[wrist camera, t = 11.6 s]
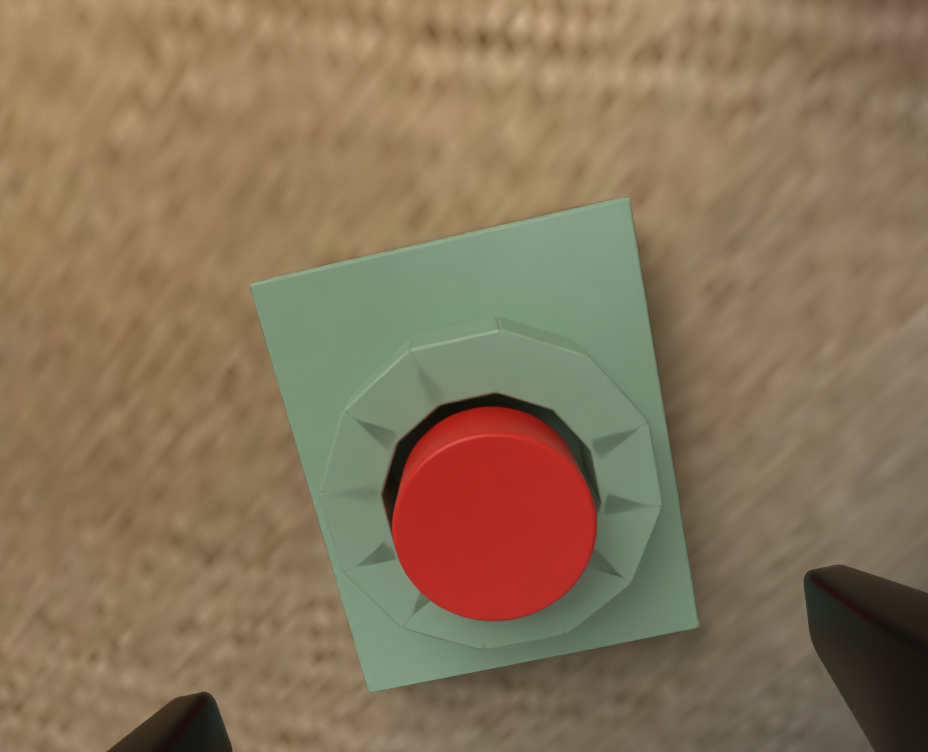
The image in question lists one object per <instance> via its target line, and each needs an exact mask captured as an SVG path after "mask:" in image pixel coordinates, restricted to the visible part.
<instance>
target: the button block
mask: <svg viewBox="0 0 928 752" xmlns="http://www.w3.org/2000/svg"><path fill="white" fill-rule="evenodd" d="M250 290H251V293H252V297H253V300H254V304H255V307H256V310H257V314H258V317H259V321H260V324H261V327H262V331H263V334H264V338H265V341H266V344H267V348H268V351H269V355H270V358H271V361H272V365H273V368H274V372H275V375H276V378H277V382H278V385H279V389H280V392H281V395H282V399H283V402H284V406H285V409H286V412H287V416H288V419H289V423H290V426H291V429H292V433H293V436H294V440H295V443H296V446H297V450H298V453H299V457H300V460H301V463H302V467H303V470H304V474H305V477H306V480H307V484H308V487H309V490H310V494H311V497H312V501H313V504H314V507H315V511H316V514H317V518H318V521H319V524H320V528H321V531H322V535H323V538H324V541H325V545H326V548H327V552H328V555H329V558H330V562H331V565H332V569H333V572H334V575H335V579H336V582H337V586H338V589H339V592H340V596H341V599H342V603H343V606H344V609H345V613H346V616H347V620H348V623H349V626H350V630H351V633H352V637H353V640H354V643H355V647H356V650H357V654H358V657H359V660H360V664H361V667H362V671H363V674H364V677H365V681H366V684H367V687H368V691H369V692H370V693H372V692H377V691H382V690H388V689H393V688H398V687H403V686H408V685H413V684H418V683H423V682H428V681H433V680H438V679H443V678H448V677H453V676H458V675H464V674H469V673H474V672H479V671H484V670H489V669H494V668H499V667H504V666H509V665H514V664H519V663H524V662H529V661H534V660H539V659H545V658H550V657H555V656H560V655H565V654H570V653H575V652H580V651H585V650H590V649H595V648H600V647H605V646H610V645H615V644H620V643H626V642H631V641H636V640H641V639H646V638H651V637H656V636H661V635H666V634H671V633H676V632H681V631H686V630H691V629H696V628H699V619H698V613H697V607H696V601H695V595H694V589H693V583H692V576H691V570H690V564H689V558H688V552H687V546H686V540H685V534H684V527H683V521H682V515H681V509H680V503H679V497H678V491H677V484H676V478H675V472H674V466H673V460H672V454H671V448H670V442H669V435H668V429H667V423H666V417H665V411H664V405H663V399H662V392H661V386H660V380H659V374H658V368H657V362H656V356H655V350H654V343H653V337H652V331H651V325H650V319H649V313H648V307H647V300H646V294H645V288H644V282H643V276H642V270H641V264H640V258H639V251H638V245H637V239H636V233H635V227H634V221H633V215H632V208H631V202H630V199H629V198H627V197H625V198H619V199H612V200H607V201H602V202H598V203H593V204H589V205H585V206H580V207H576V208H572V209H567V210H563V211H559V212H554V213H550V214H545V215H541V216H537V217H532V218H528V219H524V220H519V221H515V222H511V223H506V224H502V225H497V226H493V227H489V228H484V229H480V230H476V231H471V232H467V233H462V234H458V235H454V236H449V237H445V238H441V239H436V240H432V241H428V242H423V243H419V244H414V245H410V246H406V247H401V248H397V249H393V250H388V251H384V252H380V253H375V254H371V255H366V256H362V257H358V258H353V259H349V260H345V261H340V262H336V263H331V264H327V265H323V266H318V267H314V268H310V269H305V270H301V271H297V272H292V273H288V274H283V275H279V276H275V277H271V278H267V279H264V280H261V281H257V282H254V283H251V284H250ZM493 406H496V407H506V408H511V409H516V410H520V411H522V412H525V413H528V414H530V415H532V416H534V417H536V418H538V419H540V420H542V421H543V422H545V423H546V424H547V425H549V426H550V427H552V428H553V429H554V430H555V431H556V432H557V433H558V434H559V435H560V436H561V437H562V439H563V440H564V441H565V442H566V444H567V445H568V447H569V448H570V450H571V452H572V453H573V455H574V457H575V459H576V462H577V464H578V466H579V468H580V470H581V472H582V474H583V476H584V478H585V480H586V483H587V485H588V487H589V489H590V492H591V494H592V497H593V500H594V504H595V508H596V516H597V535H596V541H595V546H594V549H593V552H592V556H591V558H590V560H589V562H588V565H587V567H586V569H585V570H584V572H583V573H582V575H581V577H580V578H579V580H578V581H577V582H576V583H575V584H574V586H573V587H572V588H571V589H570V590H569V591H568V592H567V593H566V594H565V595H564V596H563V597H561V598H560V599H559V600H557V601H556V602H555V603H553V604H552V605H550V606H548V607H546V608H545V609H543V610H541V611H539V612H536V613H534V614H531V615H529V616H525V617H522V618H518V619H513V620H506V621H482V620H474V619H470V618H465V617H462V616H459V615H456V614H453V613H451V612H449V611H447V610H445V609H443V608H441V607H439V606H438V605H436V604H435V603H433V602H432V601H430V600H429V599H428V598H427V597H425V596H424V595H423V594H422V593H421V592H420V591H419V590H418V589H417V588H416V587H415V586H414V584H413V583H412V582H411V581H410V579H409V578H408V576H407V575H406V573H405V572H404V570H403V568H402V566H401V564H400V562H399V560H398V557H397V554H396V551H395V547H394V541H393V533H392V521H393V512H394V507H395V503H396V499H397V495H398V490H399V486H400V482H401V478H402V474H403V469H404V466H405V464H406V461H407V459H408V457H409V455H410V453H411V451H412V449H413V448H414V446H415V445H416V444H417V442H418V441H419V440H420V438H421V437H422V436H423V435H424V434H425V433H426V432H427V431H428V430H429V429H431V428H432V427H433V426H435V425H436V424H437V423H438V422H440V421H442V420H444V419H445V418H447V417H449V416H451V415H453V414H456V413H458V412H461V411H464V410H468V409H472V408H478V407H493Z"/></svg>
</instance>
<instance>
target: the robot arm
mask: <svg viewBox="0 0 928 752" xmlns="http://www.w3.org/2000/svg"><path fill="white" fill-rule="evenodd" d="M804 590H805V598H806V607H807V615H808V624H809V631H810V636H811V640H812V643H813V646H814V648H815V650H816V652H817V654H818V656H819V658H820V659H821V661H822V663H823V664H824V666H825V668H826V669H827V671H828V673H829V675H830V676H831V678H832V680H833V681H834V683H835V685H836V686H837V688H838V690H839V691H840V693H841V695H842V697H843V698H844V700H845V702H846V703H847V705H848V707H849V708H850V710H851V712H852V713H853V715H854V717H855V719H856V720H857V722H858V724H859V725H860V727H861V729H862V730H863V732H864V734H865V735H866V737H867V739H868V741H869V742H870V744H871V746H872V747H873V749H874V751H875V752H928V593H926V592H923V591H920V590H917V589H914V588H911V587H908V586H905V585H902V584H899V583H896V582H893V581H890V580H887V579H884V578H881V577H878V576H875V575H872V574H869V573H866V572H863V571H860V570H857V569H854V568H851V567H847V566H844V565H832V566H828V567H823V568H818V569H813V570H810V571H808V572H807V573H806V575H805V577H804ZM107 752H233V751H232V746H231V743H230V740H229V737H228V734H227V731H226V728H225V726H224V723H223V720H222V717H221V714H220V712H219V709H218V706H217V703H216V701H215V699H214V697H213V696H212V695H211V694H209V693H207V692H201V693H196V694H191V695H186V696H180V697H177V698H175V699H173V700H172V701H170V702H169V703H168V704H167V705H165V706H164V707H163V708H161V709H160V710H159V711H158V712H156V713H155V714H154V715H153V716H151V717H150V718H149V719H147V720H146V721H145V722H144V723H142V724H141V725H140V726H139V727H137V728H136V729H135V730H133V731H132V732H131V733H130V734H128V735H127V736H126V737H125V738H123V739H122V740H121V741H119V742H118V743H117V744H116V745H114V746H113V747H112V748H111V749H109V750H108V751H107Z"/></svg>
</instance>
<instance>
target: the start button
mask: <svg viewBox="0 0 928 752" xmlns="http://www.w3.org/2000/svg"><path fill="white" fill-rule="evenodd" d="M392 533H393V541H394V547H395V551H396V554H397V557H398V560H399V562H400V564H401V566H402V568H403V570H404V572H405V573H406V575H407V576H408V578H409V579H410V581H411V582H412V583H413V584H414V586H415V587H416V588H417V589H418V590H419V591H420V592H421V593H422V594H423V595H424V596H425V597H427V598H428V599H429V600H430V601H432V602H433V603H435V604H436V605H438V606H439V607H441V608H443V609H445V610H447V611H449V612H451V613H453V614H456V615H459V616H462V617H465V618H470V619H474V620H482V621H506V620H513V619H518V618H522V617H525V616H529V615H531V614H534V613H536V612H539V611H541V610H543V609H545V608H546V607H548V606H550V605H552V604H553V603H555V602H556V601H557V600H559V599H560V598H561V597H563V596H564V595H565V594H566V593H567V592H568V591H569V590H570V589H571V588H572V587H573V586H574V584H575V583H576V582H577V581H578V580H579V578H580V577H581V575H582V573H583V572H584V570H585V569H586V567H587V565H588V562H589V560H590V558H591V556H592V552H593V549H594V546H595V541H596V535H597V516H596V508H595V504H594V500H593V497H592V494H591V492H590V489H589V487H588V485H587V483H586V480H585V478H584V476H583V474H582V472H581V470H580V468H579V466H578V464H577V462H576V459H575V457H574V455H573V453H572V452H571V450H570V448H569V447H568V445H567V444H566V442H565V441H564V440H563V439H562V437H561V436H560V435H559V434H558V433H557V432H556V431H555V430H554V429H553V428H552V427H550V426H549V425H547V424H546V423H545V422H543V421H542V420H540V419H538V418H536V417H534V416H532V415H530V414H528V413H525V412H522V411H520V410H516V409H511V408H506V407H496V406H493V407H478V408H472V409H468V410H464V411H461V412H458V413H456V414H453V415H451V416H449V417H447V418H445V419H444V420H442V421H440V422H438V423H437V424H436V425H435V426H433V427H432V428H431V429H429V430H428V431H427V432H426V433H425V434H424V435H423V436H422V437H421V438H420V440H419V441H418V442H417V444H416V445H415V446H414V448H413V449H412V451H411V453H410V455H409V457H408V459H407V461H406V464H405V466H404V469H403V474H402V478H401V482H400V486H399V490H398V495H397V499H396V503H395V507H394V512H393V521H392Z"/></svg>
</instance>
